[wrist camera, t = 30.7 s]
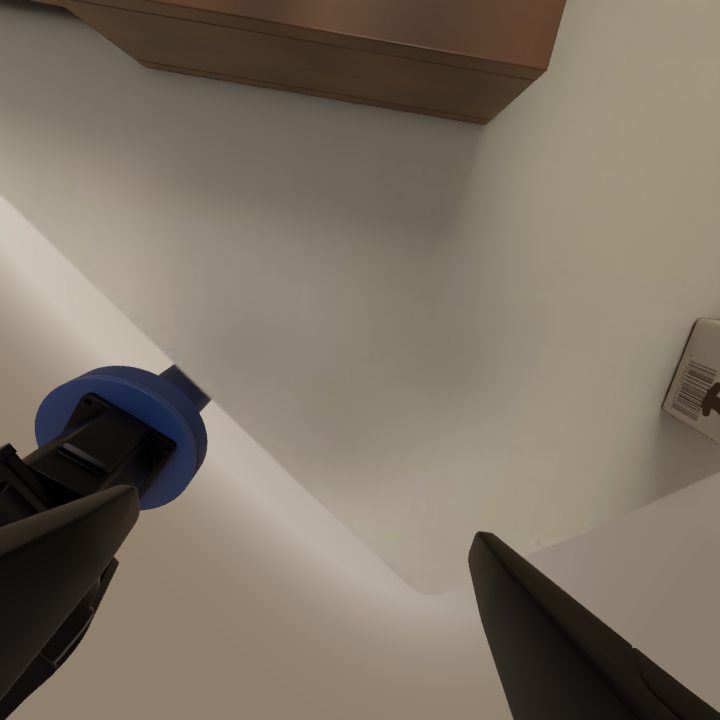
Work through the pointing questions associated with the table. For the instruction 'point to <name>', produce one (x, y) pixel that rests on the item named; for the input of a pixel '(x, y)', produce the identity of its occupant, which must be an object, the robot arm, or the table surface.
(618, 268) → the table surface
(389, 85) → the cabinet
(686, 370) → the coffee box
